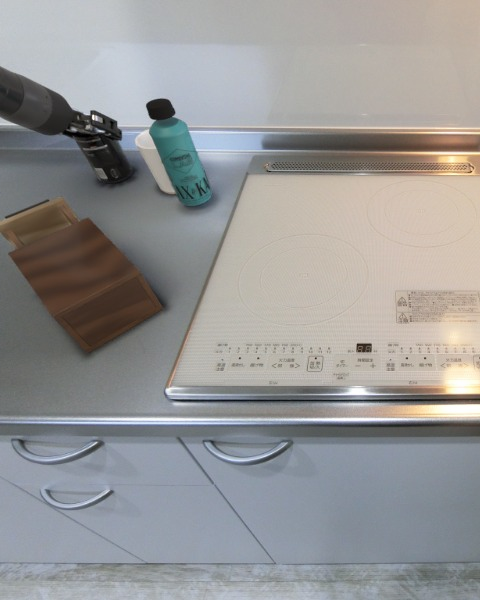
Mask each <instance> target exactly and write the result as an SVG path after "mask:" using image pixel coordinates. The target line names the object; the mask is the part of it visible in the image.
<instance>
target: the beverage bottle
mask: <svg viewBox="0 0 480 600" xmlns="http://www.w3.org/2000/svg"><path fill="white" fill-rule="evenodd" d="M145 108H146V111H147V115H148V117H149V118H150V119H151V120H153V122H152V124H151V125H150V127H149V128H148V129H149V134H150V136H151V137H152V140H153V142H154V144H155V147H156V149H157V151H158V153H159V156H160V158H161V161H162V162H161V163H163V165H164V167H163V168H165V172H167V175H168V177H169V181H171V183H172V186H173V187H172V188H174V189H173V190H175V192H176V194H175V195H176V198H177V200H178V201H179V202H180V203H181V204H182V205H184V206H188V207H195V206H200V205H202V204H205V203H206V202H208V201H209V200H210V199H211V198H212V188H211V184H210V181H209V179H208V176H207V173H206V170H205V169H204V166H203V163H202V160H201V159H200V156H199V151H198V150H197V149H196V146H195V143H194V140H193V138H192V135H191V132H190V130H189V127H188V124H187V123H186V121H184V120H182V119H179V118H178V117H175V115H176V114H177V113H176V109H175V107H174V106H173V104H172V101H171V100H170V99H168V98H163V97H162V98H155V99H151V100H149V101H148V102H147V103H146V104H145Z"/></svg>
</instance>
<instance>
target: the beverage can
mask: <svg viewBox="0 0 480 600" xmlns="http://www.w3.org/2000/svg"><path fill="white" fill-rule="evenodd" d="M86 129H87V130H90V123H89V122H86ZM97 129H98V128H97ZM98 130H101V129H98ZM102 131H103V130H102ZM72 136H73V138H74V139H73V138H72V139H73V140H74V141H75V143H76V145H77V146H78V148H79V150H80V152H81V153H82V155H83V156H84V157H85V159H86V161H87V163H88V164H89V166H90V168H91V169H92V171H93V172H94V175H95V176H96V177H97V179H98V180H99V181H100V182H103V183H108V184H116V183H121V182H123V181H125V180H127V179H128V178H129V177H130V176H131V174H132V173H133V167H132V164H131V163H130V160H129V159H128V157H127V155H126V153H125V151H124V150H123V147H122V145H121V144H120V141H117V140H115V139H112V138H110V137H108V136H105V135H102V134H95V135H90V134H85V133H81V132H72Z"/></svg>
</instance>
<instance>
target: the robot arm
mask: <svg viewBox="0 0 480 600" xmlns="http://www.w3.org/2000/svg"><path fill="white" fill-rule="evenodd" d="M0 119H2V120H5V121H7V122H9V123H10V124H11V123H12V124H14V125H17V126H20V127H22V128H25V129H27V130H30V131H33V132H35V133H38V134H41V135H44V136H50V137H51V136H52V137H53V136H65V137H68V138H70V139H73V140H74V138H73V136H72V132H81V133H85V134H90V135H95V134H102V135H105V136H108V137H110V138H112V139H115V140H117V141H119V142H121V141H122V140H123V130H122V129H120V128H119V127H118V126H119V125H118V120H116V119H114V118H111V116H108V115H105V114H103V113H101V112H100V111H97V110H95V109H92V110H89V113H88V112H85V111H84V112H83V111H80V110H78V109H77V108H74V107H71V105H70V103H69V102H68V100H67V99H66V98H65V97H64V96H62V95H61V94H60V93H59V92H56V91H54V90H53V89H50V88H49V87H47V86H45V85H42V84H41V83H38V82H37V81H34V80H32V79H31V78H28V77H26V76H24V75H22V74H20V73H16V72H14V71H12V70H9V69H7V68H5V67H4V66H1V65H0ZM86 122H89V123H90V130H87V129H86ZM97 128H98V129H101V130H98V129H97ZM102 130H103V131H102Z"/></svg>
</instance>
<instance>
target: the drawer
mask: <svg viewBox="0 0 480 600" xmlns="http://www.w3.org/2000/svg"><path fill="white" fill-rule="evenodd" d="M79 221H80V219H79V218H78V216H77V215H76V214H75V212H74V210H73V209H72V208H71V206H70V204H69V203H68V202H67V201H66V199H65V198H64V197H63V196H62V195H61V196H59V197H56V198H54V199H51V200H50V199H48V198H47V199H45V200H42V201H40V202H37V203H34V204H32V205H30V206H28V207H25V208H22V209H20V210H17V211H15V212H13V213H10V214H8V215H5V216H4V219H3V220H0V234H1V236H3V238H4V239H5V240H6V241H7V242H8V243H9V244H10V245H11V246H12V247H13V249H14V250H16V249H19V248H21V247H23V246H25V245H28V244H30V243H32V242H34V241H36V240H39V239H41V238H43V237H45V236H48V235H50V234H52V233H54V232H57V231H59V230H61V229H63V228H66V227H68V226H70V225H72V224H74V223H77V222H79Z"/></svg>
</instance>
